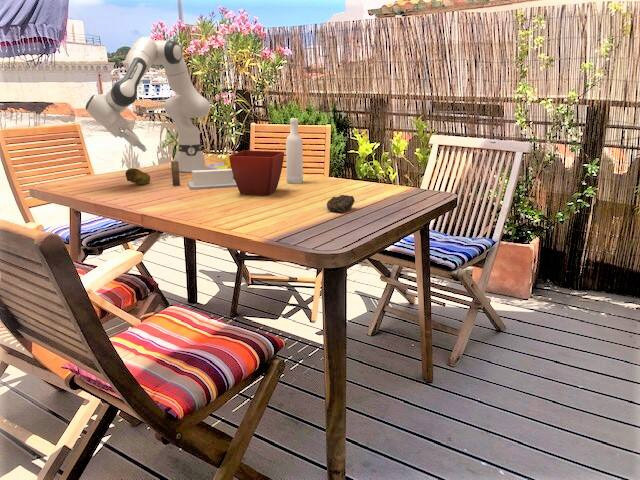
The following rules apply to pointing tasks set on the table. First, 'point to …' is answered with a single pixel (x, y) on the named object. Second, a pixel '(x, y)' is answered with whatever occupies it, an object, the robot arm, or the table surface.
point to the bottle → (294, 154)
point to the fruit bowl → (221, 165)
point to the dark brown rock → (340, 203)
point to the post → (175, 173)
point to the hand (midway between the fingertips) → (145, 149)
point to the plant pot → (257, 171)
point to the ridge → (212, 179)
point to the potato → (137, 176)
